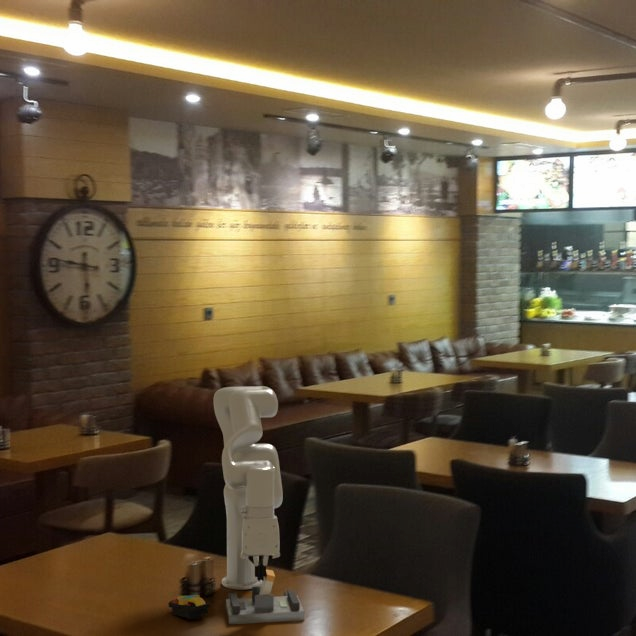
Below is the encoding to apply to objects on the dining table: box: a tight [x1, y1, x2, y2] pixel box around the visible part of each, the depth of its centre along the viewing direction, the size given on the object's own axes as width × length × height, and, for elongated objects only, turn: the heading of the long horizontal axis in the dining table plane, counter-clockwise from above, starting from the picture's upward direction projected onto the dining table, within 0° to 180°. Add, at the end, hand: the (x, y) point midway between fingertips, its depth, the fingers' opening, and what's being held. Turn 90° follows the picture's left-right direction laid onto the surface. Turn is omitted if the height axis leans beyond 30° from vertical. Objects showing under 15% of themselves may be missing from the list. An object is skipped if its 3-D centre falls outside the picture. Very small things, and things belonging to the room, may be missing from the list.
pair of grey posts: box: [227, 589, 300, 613], centre depth 264 cm, size 18×18×4 cm
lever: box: [259, 568, 276, 595], centre depth 260 cm, size 6×2×9 cm, turn 10°
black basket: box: [167, 594, 212, 621], centre depth 258 cm, size 6×13×6 cm, turn 42°
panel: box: [225, 586, 305, 625], centre depth 260 cm, size 13×20×6 cm, turn 100°
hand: (260, 579), depth 259 cm, fingers closed
